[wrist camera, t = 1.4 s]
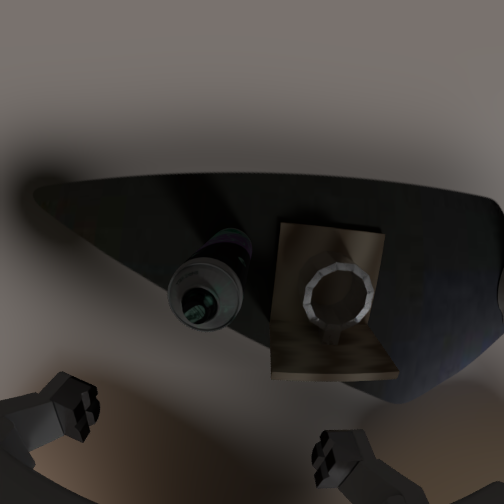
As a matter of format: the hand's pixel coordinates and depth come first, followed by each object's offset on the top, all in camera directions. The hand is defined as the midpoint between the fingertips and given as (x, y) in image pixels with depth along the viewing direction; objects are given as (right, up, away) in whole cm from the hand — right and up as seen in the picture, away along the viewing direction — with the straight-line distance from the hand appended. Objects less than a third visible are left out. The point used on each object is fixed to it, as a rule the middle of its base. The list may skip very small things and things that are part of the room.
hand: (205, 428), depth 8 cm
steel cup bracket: (+11, +1, +28) cm, 30 cm away
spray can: (-1, +6, +29) cm, 29 cm away
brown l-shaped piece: (+12, +2, +29) cm, 31 cm away
